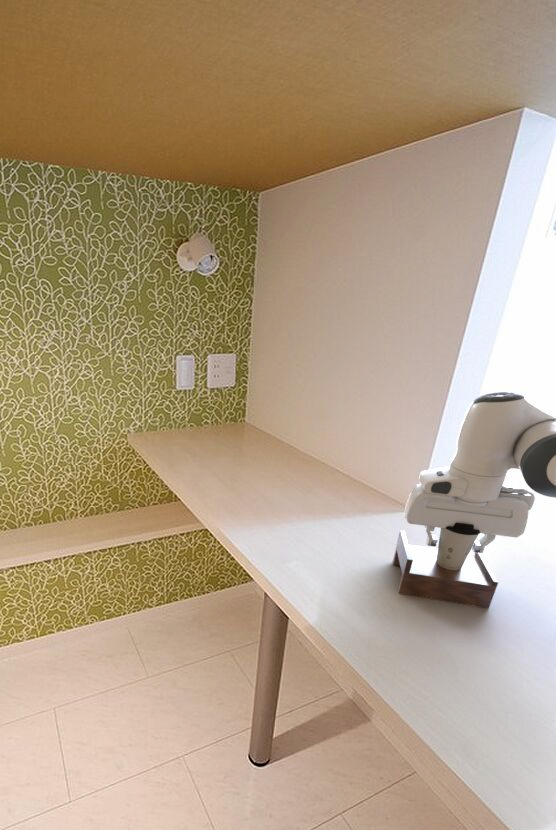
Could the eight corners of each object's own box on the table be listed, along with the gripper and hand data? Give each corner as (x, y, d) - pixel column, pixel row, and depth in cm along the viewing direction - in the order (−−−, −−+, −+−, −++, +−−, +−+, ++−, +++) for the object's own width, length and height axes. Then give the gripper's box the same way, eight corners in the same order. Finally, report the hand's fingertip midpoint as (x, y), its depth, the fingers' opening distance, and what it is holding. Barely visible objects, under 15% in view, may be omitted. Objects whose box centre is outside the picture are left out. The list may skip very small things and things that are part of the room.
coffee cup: (476, 570, 85) (492, 524, 81) (449, 576, 83) (464, 530, 78) (448, 552, 91) (461, 509, 87) (422, 557, 89) (433, 514, 84)
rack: (472, 574, 93) (483, 541, 89) (488, 608, 82) (501, 573, 79) (392, 561, 96) (400, 530, 93) (398, 593, 86) (407, 559, 83)
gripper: (531, 483, 80) (507, 548, 86) (411, 470, 84) (396, 533, 90) (545, 496, 74) (518, 565, 80) (416, 482, 79) (400, 547, 85)
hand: (453, 547), depth 85 cm, fingers closed on coffee cup, 7 cm apart
